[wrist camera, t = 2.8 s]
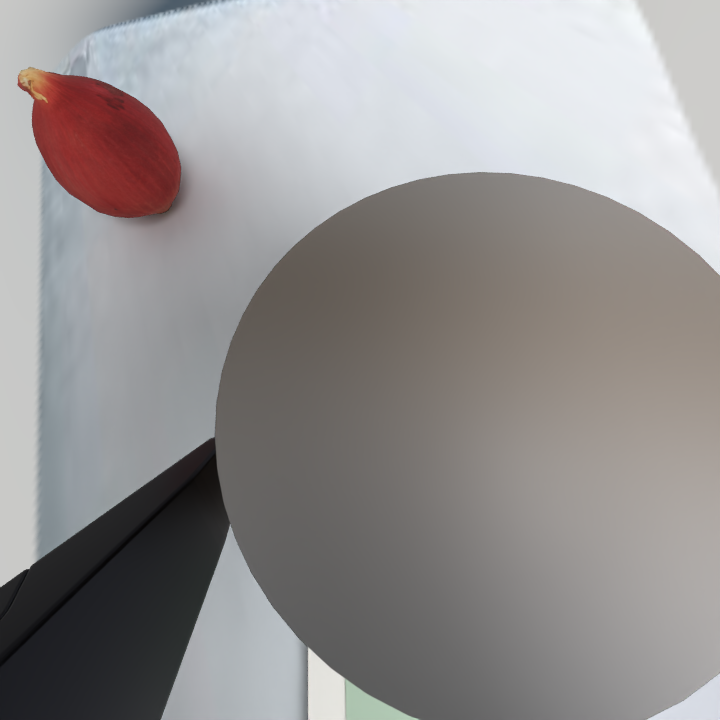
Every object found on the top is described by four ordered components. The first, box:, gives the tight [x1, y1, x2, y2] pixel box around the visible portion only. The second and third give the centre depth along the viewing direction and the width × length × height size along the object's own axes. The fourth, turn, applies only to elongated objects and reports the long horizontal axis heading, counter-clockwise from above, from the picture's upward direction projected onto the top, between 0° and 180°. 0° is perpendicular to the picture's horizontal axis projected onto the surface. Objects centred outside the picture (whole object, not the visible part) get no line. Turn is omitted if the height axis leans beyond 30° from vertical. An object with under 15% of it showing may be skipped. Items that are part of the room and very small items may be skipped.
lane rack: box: [308, 647, 420, 720], centre depth 11 cm, size 17×10×5 cm, turn 2°
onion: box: [18, 67, 181, 218], centre depth 17 cm, size 6×6×8 cm
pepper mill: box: [215, 172, 720, 720], centre depth 8 cm, size 5×5×12 cm
